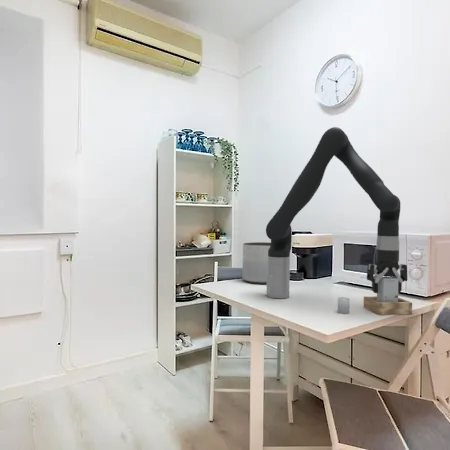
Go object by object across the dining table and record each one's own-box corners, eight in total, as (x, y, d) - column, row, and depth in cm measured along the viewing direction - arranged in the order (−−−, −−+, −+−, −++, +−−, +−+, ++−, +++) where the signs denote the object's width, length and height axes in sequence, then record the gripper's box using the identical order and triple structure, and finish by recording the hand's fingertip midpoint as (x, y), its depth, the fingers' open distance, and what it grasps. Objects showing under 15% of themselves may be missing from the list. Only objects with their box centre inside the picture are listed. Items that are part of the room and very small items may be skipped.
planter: (233, 280, 181) (233, 243, 181) (261, 276, 196) (261, 241, 196) (265, 287, 165) (266, 246, 164) (293, 281, 180) (293, 244, 180)
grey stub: (340, 314, 118) (340, 299, 118) (335, 310, 122) (335, 297, 122) (351, 313, 119) (351, 299, 118) (346, 310, 123) (346, 297, 122)
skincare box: (383, 312, 120) (384, 278, 120) (375, 309, 125) (376, 276, 124) (398, 311, 121) (399, 278, 121) (390, 308, 126) (391, 276, 126)
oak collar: (378, 314, 117) (378, 303, 117) (363, 307, 128) (363, 296, 127) (412, 314, 118) (412, 302, 118) (394, 306, 129) (394, 296, 129)
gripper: (374, 249, 118) (373, 295, 118) (412, 249, 119) (411, 294, 120) (363, 247, 126) (362, 290, 126) (399, 247, 127) (398, 290, 127)
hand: (386, 292), depth 123 cm, fingers open, 8 cm apart
